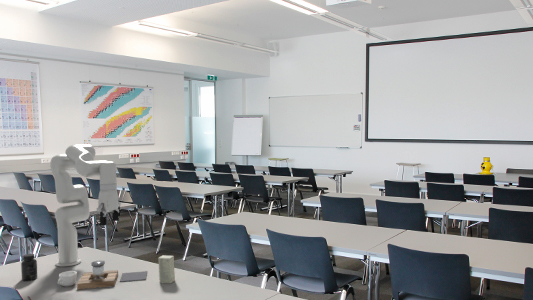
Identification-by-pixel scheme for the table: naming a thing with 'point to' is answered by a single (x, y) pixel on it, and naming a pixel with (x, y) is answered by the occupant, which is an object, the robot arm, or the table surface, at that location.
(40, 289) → the table surface
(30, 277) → the supplement bottle
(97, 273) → the grey light bulb
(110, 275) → the wooden square frame
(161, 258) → the skincare box
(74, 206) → the robot arm
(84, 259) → the table surface
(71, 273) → the teacup
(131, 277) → the mat
